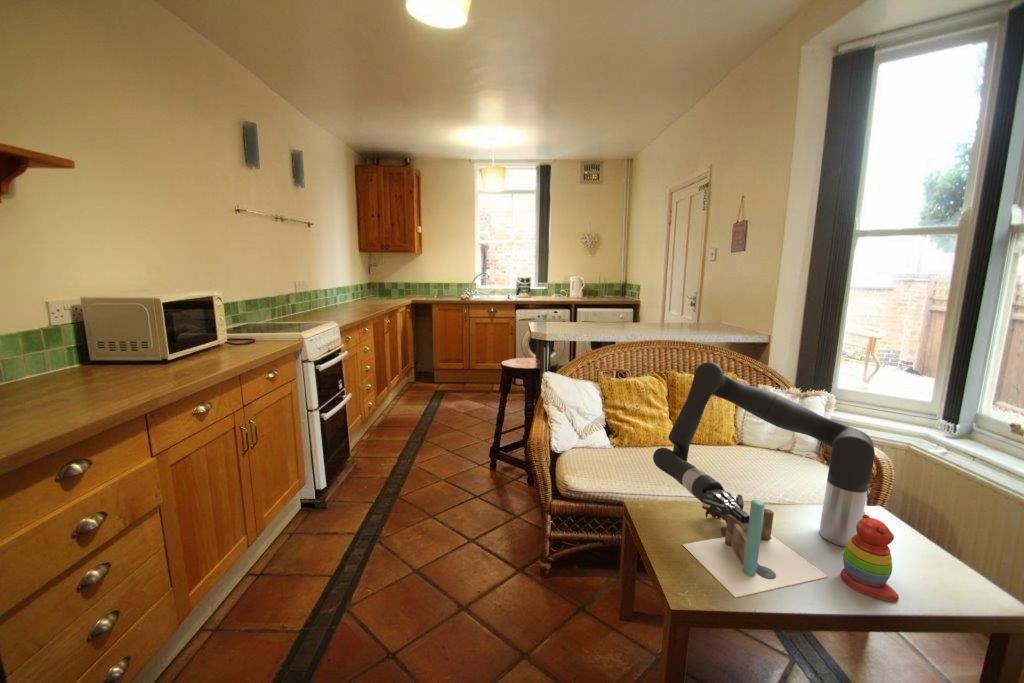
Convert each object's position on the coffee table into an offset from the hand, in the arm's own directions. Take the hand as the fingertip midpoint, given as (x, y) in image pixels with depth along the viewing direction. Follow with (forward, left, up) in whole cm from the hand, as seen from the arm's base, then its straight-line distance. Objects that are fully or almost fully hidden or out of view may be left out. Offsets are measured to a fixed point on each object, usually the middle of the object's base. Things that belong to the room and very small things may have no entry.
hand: (746, 520), depth 107 cm
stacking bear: (-28, +11, -15) cm, 34 cm away
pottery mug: (-11, -17, -15) cm, 26 cm away
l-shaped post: (-3, -3, -14) cm, 15 cm away
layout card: (-6, -3, -15) cm, 16 cm away
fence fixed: (-12, -10, -15) cm, 21 cm away
